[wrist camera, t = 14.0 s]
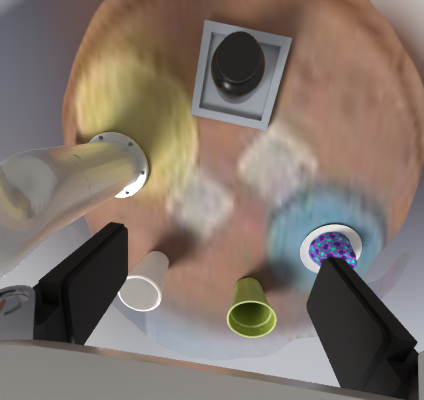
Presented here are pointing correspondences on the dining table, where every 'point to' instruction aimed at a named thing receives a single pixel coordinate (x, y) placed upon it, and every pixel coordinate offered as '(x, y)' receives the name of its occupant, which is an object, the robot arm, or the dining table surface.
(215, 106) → the tray
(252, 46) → the supplement bottle
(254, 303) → the plant pot
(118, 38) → the dining table surface
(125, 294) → the dixie cup
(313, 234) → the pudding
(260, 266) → the dining table surface
